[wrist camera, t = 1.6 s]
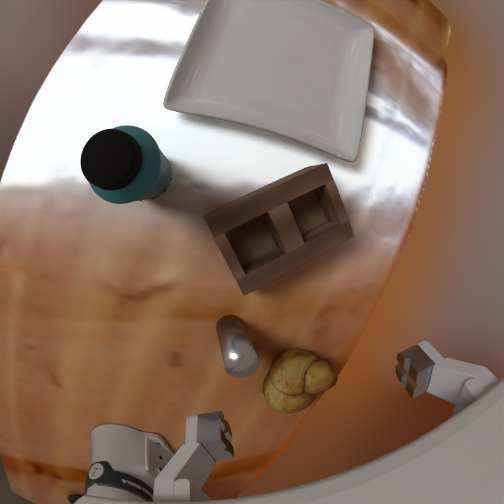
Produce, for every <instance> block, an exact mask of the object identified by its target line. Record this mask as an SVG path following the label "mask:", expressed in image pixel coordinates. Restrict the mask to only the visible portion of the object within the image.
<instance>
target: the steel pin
mask: <svg viewBox="0 0 504 504" xmlns="http://www.w3.org/2000/svg"><path fill="white" fill-rule="evenodd" d="M216 330H217V335H218V339H219V343H220V348H221V352H222V356H223V361H224V365H225V369H226V371H227V373H228V374H229V375H231V376H233V377H236V378H244V377H248V376H250V375H252V374H253V373H254V372H255V371H256V370H257V368H258V366H259V359H258V357H257V355H256V352H255V350H254V348H253V345H252V343H251V341H250V339H249V336H248V334H247V332H246V329H245V327H244V325H243V322H242V321H241V319H240V318H239V317H237V316H235V315H226V316H224V317H222V318H221V319H220V320H219V321H218V322H217V325H216Z"/></svg>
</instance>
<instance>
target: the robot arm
mask: <svg viewBox="0 0 504 504" xmlns="http://www.w3.org/2000/svg"><path fill="white" fill-rule="evenodd" d="M397 360H398V361H399V362H398V364H397V365H396V374H397V377H398V380H399V381H400V382H401V383H402V384H405V385H406V390H407V392H408V393H409V395H410V396H411V397H412V398H414V397H416V396H418V395H420V394H422V393H424V392H426V391H427V392H429V393H431V394H433V395H435V396H438V397H440V398H442V399H445V400H447V401H449V402H452V403H454V404H456V406H455V409H454V411H453V413H452V416H453V417H452V418H451V419H449V420H447V421H446V422H444V423H443V424H441V425H439V426H438V427H436V428H435V429H433V430H431V431H430V432H428V433H426V434H425V435H423V436H421V437H419V438H417V439H416V440H414V441H412V442H410V443H408V444H406V445H404V446H402V447H400V448H398V449H396V450H395V451H392V452H390V453H388V454H386V455H384V456H382V457H380V458H377V459H375V460H373V461H370V462H368V463H366V464H363V465H361V466H358V467H356V468H353V469H350V470H348V471H345V472H342V473H339V474H337V475H334V476H331V477H328V478H324V479H321V480H318V481H315V482H311V483H308V484H304V485H300V486H297V487H293V488H289V489H284V490H280V491H275V492H270V493H265V494H260V495H254V496H248V497H241V498H234V499H225V500H215V501H211V498H209V497H208V496H207V495H206V494H204V493H203V492H202V491H201V489H202V487H203V485H204V484H205V482H206V480H207V478H208V477H209V475H210V473H211V471H212V469H213V468H214V466H215V464H216V462H217V461H223V460H228V459H234V450H233V446H232V444H231V443H230V442H231V440H232V432H231V428H230V426H229V423H228V421H227V420H224V415H223V413H222V411H217V412H211V413H204V414H197V415H190V416H188V417H187V420H186V438H185V445H182V446H181V447H180V448H179V450H178V451H177V452H176V454H174V452H173V451H172V450H171V448H170V447H169V446H168V444H167V443H166V442H165V440H164V439H163V438H162V436H160V435H158V434H154V433H146V432H141V431H138V430H136V429H133V428H130V427H126V426H122V425H114V424H108V425H101V426H98V427H96V428H95V429H94V430H93V431H92V433H91V467H90V469H89V471H88V474H87V479H86V484H85V492H86V495H84V496H82V497H81V498H79V499H78V500H77V501H76V502H75V503H74V504H504V378H503V379H501V380H500V381H499V380H498V379H497V378H496V377H495V376H494V375H493V374H492V373H491V372H490V371H489V370H488V369H487V368H486V367H483V366H479V365H474V364H470V363H466V362H462V361H458V360H454V359H450V358H445V359H444V358H443V357H442V356H441V355H440V354H439V353H438V352H437V351H436V350H435V349H434V348H433V347H432V346H431V345H430V344H429V343H428V342H427V341H425V340H424V341H422V342H420V343H418V344H416V345H414V346H412V347H410V348H408V349H406V350H404V351H402V352H400V353H398V355H397Z"/></svg>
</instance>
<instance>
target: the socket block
mask: <svg viewBox="0 0 504 504" xmlns="http://www.w3.org/2000/svg"><path fill="white" fill-rule="evenodd" d="M204 218H205V220H206V222H207V224H208V226H209V228H210V230H211V232H212V234H213V236H214V238H215V240H216V242H217V244H218V246H219V248H220V250H221V252H222V254H223V256H224V258H225V260H226V262H227V264H228V266H229V268H230V270H231V272H232V274H233V276H234V278H235V280H236V281H237V283H238V285H239V287H240V289H241V291H242V293H243V294H244V295H246V294H248V293H250V292H252V291H254V290H256V289H258V288H260V287H262V286H264V285H265V284H267V283H269V282H271V281H273V280H275V279H277V278H279V277H281V276H282V275H284V274H286V273H288V272H290V271H292V270H294V269H295V268H297V267H299V266H301V265H303V264H305V263H306V262H308V261H310V260H312V259H314V258H315V257H317V256H319V255H321V254H323V253H325V252H326V251H328V250H330V249H332V248H333V247H335V246H337V245H339V244H341V243H342V242H344V241H346V240H348V239H349V238H351V237H353V236H354V234H353V231H352V228H351V225H350V223H349V220H348V217H347V214H346V211H345V208H344V206H343V203H342V200H341V198H340V195H339V192H338V190H337V187H336V185H335V182H334V180H333V177H332V175H331V172H330V170H329V167H328V165H327V163H325V164H320V165H315V166H310V167H306V168H304V169H302V170H299V171H297V172H295V173H293V174H290V175H288V176H286V177H284V178H281V179H279V180H277V181H275V182H273V183H270V184H268V185H266V186H264V187H262V188H260V189H258V190H255V191H253V192H251V193H249V194H247V195H245V196H243V197H241V198H239V199H237V200H235V201H232V202H230V203H228V204H226V205H224V206H222V207H220V208H218V209H216V210H214V211H212V212H210V213H208V214H206V215H204Z"/></svg>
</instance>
